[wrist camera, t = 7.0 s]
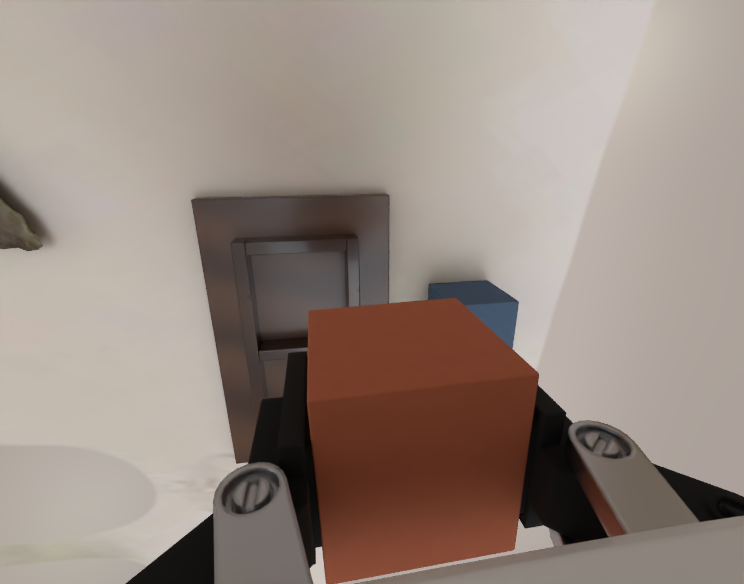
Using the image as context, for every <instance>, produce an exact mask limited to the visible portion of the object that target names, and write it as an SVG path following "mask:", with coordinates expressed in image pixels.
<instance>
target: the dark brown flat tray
mask: <svg viewBox="0 0 744 584" xmlns="http://www.w3.org/2000/svg"><path fill="white" fill-rule="evenodd" d="M191 202H192V208H193V214H194V219H195V225H196V231H197V237H198V243H199V249H200V254H201V260H202V266H203V272H204V278H205V284H206V290H207V295H208V301H209V307H210V313H211V319H212V325H213V331H214V336H215V342H216V348H217V354H218V360H219V366H220V371H221V377H222V383H223V389H224V395H225V401H226V407H227V412H228V418H229V424H230V430H231V436H232V442H233V448H234V453H235V459H236V463H237V464H238V463H246V462H249V457H250V453H251V448H252V443H253V438H254V434H255V429H256V424H257V419H258V414H259V410H260V405H261V401H262V399H268V398H277V397H283V392H284V384H285V376H286V367H287V359H288V353H291V352H302V351H307V356H308V313H309V311H310V310H319V309H331V308H343V307H354V306H366V305H378V304H389V195H388V194H351V195H306V196H262V197H217V198H195V199H192V200H191Z"/></svg>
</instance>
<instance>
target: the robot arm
mask: <svg viewBox="0 0 744 584" xmlns="http://www.w3.org/2000/svg"><path fill="white" fill-rule="evenodd" d="M307 369H308V356H307V351H302V352H291V353H288V359H287V367H286V376H285V384H284V392H283V397H277V398H268V399H262V401H261V405H260V410H259V414H258V419H257V424H256V429H255V434H254V438H253V443H252V448H251V453H250V457H249V462H248V464H247V465H245V466H242V467H240V468H237V469H236V470H234V471H233V472H231V473H230V474H228V475H227V476H226V477H225V478H224V479H223V480H222V482H221V483H220V484H219V486H218V488H217V489H216V491H215V495H214V500H213V514H212V515H210V516H209V517H208V518H207V519H205V520H204V521H203V522H202V523H200V524H199V525H198V526H197V527H196V528H194V529H193V530H192V531H191V532H189V533H188V534H187V535H186V536H184V537H183V538H182V539H181V540H179V541H178V542H177V543H176V544H174V545H173V546H172V547H171V548H169V549H168V550H167V551H166V552H164V553H163V554H162V555H161V556H159V557H158V558H157V559H156V560H154V561H153V562H152V563H151V564H149V565H148V566H147V567H146V568H145V569H143V570H142V571H141V572H140V573H138V574H137V575H136V576H135V577H133V578H132V579H131V580H130V581H128V582H127V583H126V584H313V581H312V577H311V573H310V568H311V566H312V565H313V564H316V551H315V548H316V547H322V538H321V529H320V519H319V509H318V500H317V490H316V480H315V471H314V461H313V454H312V445H311V436H310V426H309V417H308V408H307ZM519 519H520V521H521V522H522V524H523V526H524V528H531V527H536V526H542V525H544V526H546V527H548V528H549V532H550V537H551V540H552V542H553V545H554V547H552V548H546V549H540V550H535V551H529V552H524V553H519V554H513V555H508V556H502V557H496V558H490V559H485V560H479V561H474V562H468V563H463V564H457V565H452V566H447V567H441V568H436V569H430V570H425V571H419V572H414V573H409V574H403V575H399V576H393V577H387V578H382V579H377V580H371V581H366V582H361V583H355V584H744V497H743V496H740V495H738V494H736V493H733V492H730V491H727V490H724V489H722V488H719V487H716V486H713V485H711V484H708V483H705V482H702V481H700V480H696V479H694V478H691V477H689V476H686V475H683V474H680V473H677V472H675V471H672V470H669V469H666V468H664V467H660V466H658V465H655V464H653V463H651V461H650V460H649V459H648V458H647V456H646V455H645V454H644V453H643V451H642V450H641V449H640V448H639V447H638V445H637V444H636V443H635V442H634V441H633V440H632V439H631V438H630V437H629V436H628V435H627V434H625V433H623V432H622V431H620V430H619V429H617V428H615V427H612V426H610V425H608V424H604V423H601V422H596V421H589V420H585V421H578V422H575V423H572V422H571V421H570V420H569V419H568V418H567V417H566V412H565V411H564V410H563V409H562V408H561V407H560V406H559V405H558V404H557V403H556V402H555V401H553V399H552V398H551V397H549V395H548V394H547V393H545V392H544V391H543V389H541V388H540V387H539V386H537V393H536V400H535V407H534V414H533V421H532V428H531V435H530V442H529V450H528V457H527V464H526V471H525V478H524V485H523V492H522V499H521V506H520V513H519Z"/></svg>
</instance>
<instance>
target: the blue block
mask: <svg viewBox="0 0 744 584" xmlns="http://www.w3.org/2000/svg"><path fill="white" fill-rule="evenodd" d="M448 298H457V299H458V300H459V301H460V302H461V303H462V304H464V305H465V306H466V307H467V308H468V309H469V310H470V311H471V312H472V313H473V314H474V315H476V316H477V317H478V318H479V319H480V320H481V321H482V322H483V323H484V324H485V325H486V326H488V327H489V328H490V329H491V330H492V331H493V332H494V333H495V334H496V335H497V336H498V337H500V338H501V339H502V340H503V341H504V342H505V343H506V344H507V345H508V346H509V347H510V348H513V341H514V333H515V326H516V319H517V311H518V304H519V302H518V301H517V300H516V299H514V298H513V297H511V296H510V295H508V294H507V293H505V292H504V291H502V290H501V289H499V288H498V287H496V286H495V285H493V284H492V283H490V282H489V281H471V282H455V283H438V284H429V298H428V300H436V299H448Z"/></svg>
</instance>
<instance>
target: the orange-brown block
mask: <svg viewBox="0 0 744 584" xmlns="http://www.w3.org/2000/svg"><path fill="white" fill-rule="evenodd" d="M538 379H539V374H538V372H537V371H536V370H535V369H533V368H532V367H531V366H530V365H529V364H528V363H527V362H526V361H525V360H524V359H522V358H521V357H520V356H519V355H518V354H517V353H516V352H515V351H514V350H513V349H512V348H510V347H509V346H508V345H507V344H506V343H505V342H504V341H503V340H502V339H501V338H500V337H498V336H497V335H496V334H495V333H494V332H493V331H492V330H491V329H490V328H489V327H488V326H486V325H485V324H484V323H483V322H482V321H481V320H480V319H479V318H478V317H477V316H476V315H474V314H473V313H472V312H471V311H470V310H469V309H468V308H467V307H466V306H465V305H464V304H462V303H461V302H460V301H459V300H458V299H457V298H448V299H436V300H425V301H413V302H401V303H390V304H378V305H366V306H354V307H343V308H331V309H319V310H310V311H309V313H308V369H307V408H308V417H309V426H310V436H311V445H312V454H313V461H314V471H315V480H316V490H317V500H318V509H319V519H320V529H321V538H322V550H323V559H324V569H325V578H326V584H337V583H342V582H347V581H352V580H358V579H363V578H369V577H374V576H379V575H384V574H390V573H395V572H400V571H406V570H411V569H416V568H421V567H427V566H432V565H437V564H443V563H448V562H453V561H459V560H464V559H470V558H475V557H480V556H485V555H490V554H496V553H501V552H507V551H512V550H514V548H515V542H516V535H517V527H518V520H519V513H520V506H521V499H522V492H523V485H524V478H525V471H526V464H527V457H528V450H529V442H530V435H531V428H532V421H533V414H534V407H535V400H536V393H537V386H538Z"/></svg>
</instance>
